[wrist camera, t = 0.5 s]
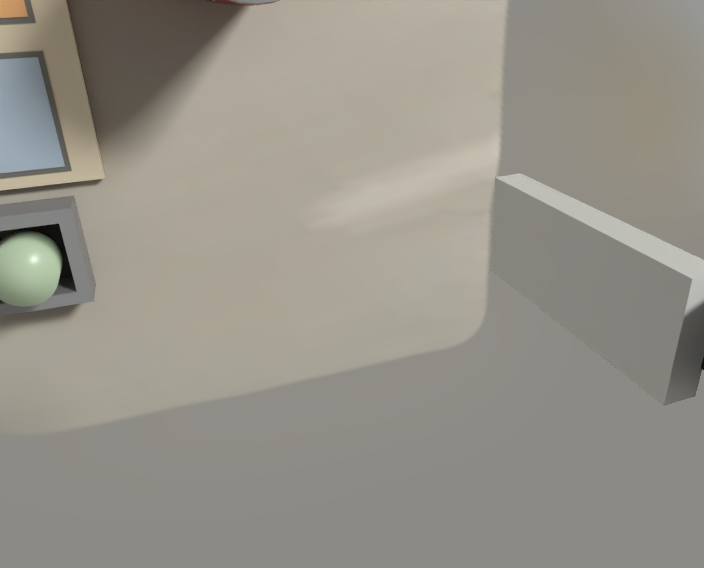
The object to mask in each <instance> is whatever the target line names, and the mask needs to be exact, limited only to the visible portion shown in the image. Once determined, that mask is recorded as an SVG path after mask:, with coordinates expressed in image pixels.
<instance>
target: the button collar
mask: <svg viewBox="0 0 704 568" xmlns="http://www.w3.org/2000/svg"><path fill="white" fill-rule="evenodd" d="M58 223H59V226H60V229H61V233H62V237H63V241H64V245H65V248H66V252H67V256H68V260H69V264H70V267H71V271H72V275H73V277H68V278H61V279H59V282H58V285H57V288H56V290H55V292H54V293H53V295H52V296H51V297H50V298H49V299H47V300H46V301H44V302H42V303H40V304H38V305H34V306H28V307H20V306H14V305H10V304H7V303H5V302H3V301H1V300H0V317H2V316H8V315H14V314H20V313H26V312H32V311H38V310H44V309H50V308H56V307H62V306H68V305H74V304H80V303H86V302H92V301H94V295H95V287H96V284H95V280H94V276H93V272H92V267H91V263H90V259H89V255H88V251H87V247H86V243H85V239H84V235H83V231H82V227H81V223H80V219H79V215H78V210H77V206H76V202H75V198H74V196H70V197H62V198H54V199H45V200H37V201H29V202H21V203H12V204H4V205H0V231H5V230H13V229H20V228H28V227H36V226H43V225H51V224H58Z"/></svg>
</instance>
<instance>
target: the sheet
mask: <svg viewBox="0 0 704 568" xmlns="http://www.w3.org/2000/svg"><path fill="white" fill-rule="evenodd" d="M96 179H105V173H104V168H103V163H102V159H101V154H100V150H99V145H98V141H97V136H96V131H95V127H94V122H93V118H92V113H91V109H90V104H89V99H88V95H87V90H86V86H85V81H84V77H83V72H82V67H81V63H80V58H79V54H78V49H77V45H76V40H75V36H74V31H73V26H72V22H71V17H70V13H69V8H68V4H67V0H0V191H1V190H9V189H18V188H27V187H35V186H44V185H53V184H61V183H70V182H79V181H88V180H96Z"/></svg>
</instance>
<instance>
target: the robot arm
mask: <svg viewBox="0 0 704 568" xmlns="http://www.w3.org/2000/svg"><path fill="white" fill-rule="evenodd" d="M490 271H492V272H493V273H494V274H496V275H497V276H498V277H499V278H501V279H502V280H503V281H505V282H506V283H507V284H508V285H510V286H511V287H512V288H513V289H515V290H516V291H518V292H519V293H520V294H521V295H522V296H524V297H525V298H526V299H528V300H529V301H530V302H532V303H533V304H534V305H536V306H537V307H538V308H539V309H541V310H542V311H543V312H544V313H546V314H547V315H548V316H550V317H551V318H552V319H553V320H555V321H556V322H557V323H558V324H560V325H561V326H562V327H564V328H565V329H566V330H567V331H569V332H570V333H571V334H573V335H574V336H575V337H576V338H578V339H579V340H580V341H582V342H583V343H584V344H585V345H587V346H588V347H589V348H591V349H592V350H593V351H595V352H596V353H597V354H598V355H600V356H601V357H602V358H603V359H605V360H606V361H607V362H609V363H610V364H611V365H612V366H614V367H615V368H616V369H618V370H619V371H620V372H621V373H623V374H624V375H625V376H627V377H628V378H629V379H631V380H632V381H633V382H634V383H636V384H637V385H638V386H639V387H641V388H642V389H643V390H645V391H646V392H647V393H648V394H650V395H651V396H652V397H653V398H655V399H656V400H657V401H659V402H660V403H661V404H663V405H667V404H670V403H674V402H677V401H681V400H684V399H687V398H691V397H694V396H695V395H696V391H697V387H698V383H699V379H700V375H701V371H702V369H703V370H704V260H703V259H701V258H699V257H696V256H695V255H693V254H690V253H688V252H686V251H684V250H681V249H680V248H678V247H676V246H674V245H671V244H669V243H667V242H665V241H663V240H661V239H658V238H656V237H654V236H652V235H650V234H648V233H646V232H643V231H641V230H639V229H637V228H635V227H633V226H631V225H629V224H627V223H624V222H622V221H620V220H618V219H616V218H614V217H612V216H610V215H607V214H605V213H603V212H601V211H599V210H597V209H595V208H592V207H590V206H588V205H586V204H584V203H582V202H580V201H578V200H576V199H574V198H571V197H569V196H567V195H565V194H563V193H561V192H559V191H557V190H554V189H552V188H550V187H548V186H546V185H544V184H542V183H540V182H538V181H535V180H533V179H531V178H529V177H527V176H525V175H523V174H514V175H507V176H501V177H495V191H494V209H493V226H492V243H491V261H490Z"/></svg>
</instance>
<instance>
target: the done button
mask: <svg viewBox="0 0 704 568" xmlns="http://www.w3.org/2000/svg"><path fill="white" fill-rule="evenodd" d="M62 265H63V257H62V253H61V250H60V248H59V247H58V245H57V244H56V243H55V242H54V241H53V240H52V239H51V238H49V237H48V236H46V235H44V234H42V233H39V232H35V231H18V232H14V233H12V234H9V235H8V236H6V237H5V238H3V239H2V240H1V241H0V300H1V301H3V302H5V303H7V304H10V305H14V306H20V307H28V306H34V305H38V304H40V303H42V302H44V301H46V300H47V299H49V298H50V297H51V296H52V295H53V293H54V292H55V290H56V288H57V285H58V282H59V278H60V274H61V269H62Z"/></svg>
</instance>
